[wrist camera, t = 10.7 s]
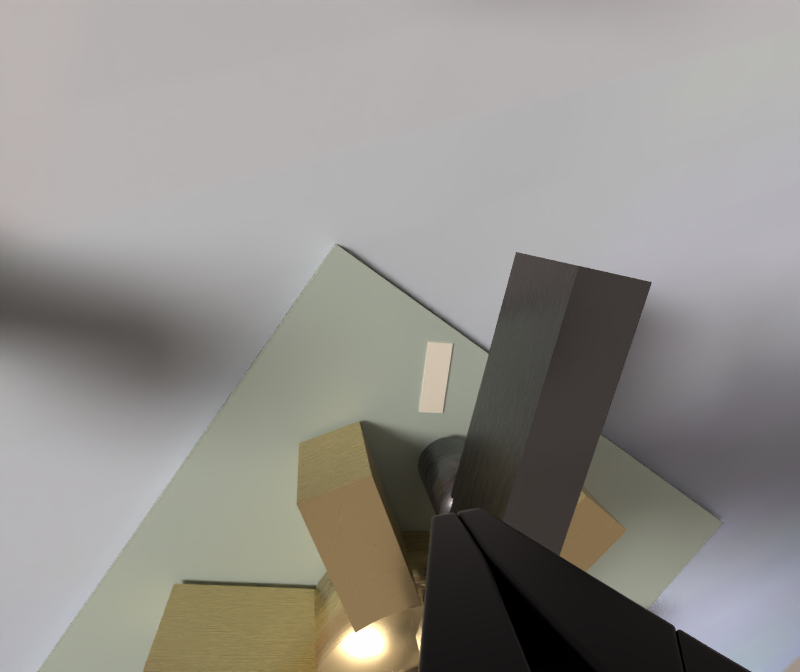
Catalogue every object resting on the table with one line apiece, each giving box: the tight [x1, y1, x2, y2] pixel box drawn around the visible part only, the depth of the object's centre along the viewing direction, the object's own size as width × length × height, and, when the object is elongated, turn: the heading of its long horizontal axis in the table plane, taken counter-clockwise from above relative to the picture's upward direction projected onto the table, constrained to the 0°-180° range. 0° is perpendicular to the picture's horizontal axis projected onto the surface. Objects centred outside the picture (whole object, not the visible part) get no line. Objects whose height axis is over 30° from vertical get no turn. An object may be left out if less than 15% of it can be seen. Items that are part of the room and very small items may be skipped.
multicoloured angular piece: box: [143, 252, 652, 672], centre depth 17 cm, size 20×26×7 cm
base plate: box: [38, 244, 723, 672], centre depth 22 cm, size 24×24×1 cm
